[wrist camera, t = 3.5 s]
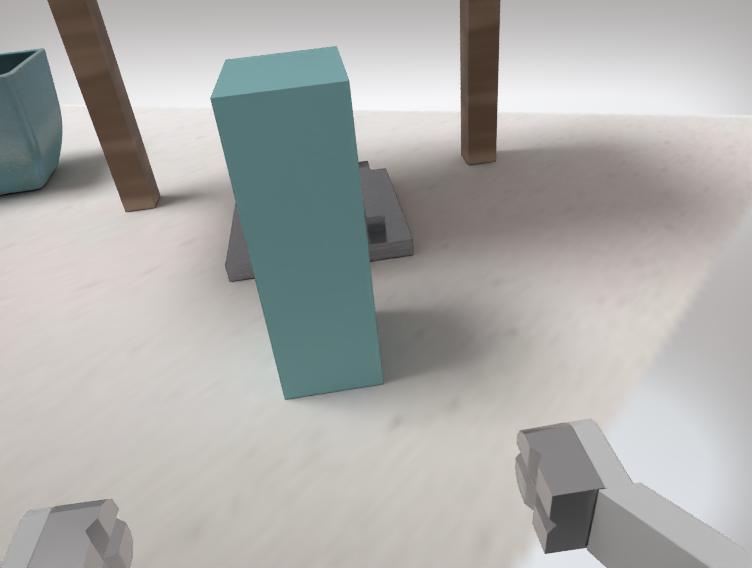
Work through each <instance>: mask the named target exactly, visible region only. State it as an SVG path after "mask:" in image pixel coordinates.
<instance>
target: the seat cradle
mask: <svg viewBox="0 0 752 568" xmlns="http://www.w3.org/2000/svg"><path fill="white" fill-rule="evenodd" d="M358 163H359V172H360V181H361V190H362V199H363V208H364V216H365V225H366V234H367V243H368V252H369V261H373V260H380V259H387V258H394V257H401V256H408V255H413V239H412V236H411V233H410V231H409V228H408V226H407V223H406V220H405V218H404V215H403V212H402V210H401V207H400V205H399V202H398V199H397V197H396V194H395V191H394V189H393V186H392V184H391V181H390V178H389V176H388V173H387V170H386V168H384V169H377V170H370V168H369V164H368V161H363V162H358ZM225 267H226V271H227V274H228V278H229V281H236V280H243V279H250V278H255V277H254V273H253V269H252V265H251V260H250V256H249V252H248V248H247V244H246V240H245V236H244V232H243V228H242V224H241V220H240V216H239V212H238V208H237V204H235V210H234V216H233V222H232V228H231V234H230V240H229V246H228V251H227V257H226V263H225Z"/></svg>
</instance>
